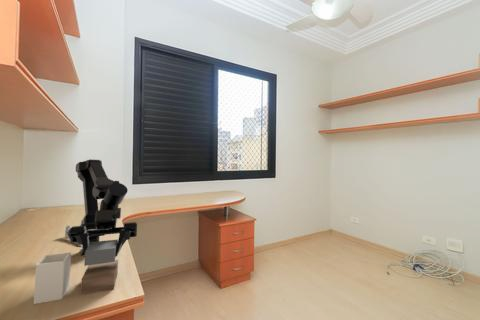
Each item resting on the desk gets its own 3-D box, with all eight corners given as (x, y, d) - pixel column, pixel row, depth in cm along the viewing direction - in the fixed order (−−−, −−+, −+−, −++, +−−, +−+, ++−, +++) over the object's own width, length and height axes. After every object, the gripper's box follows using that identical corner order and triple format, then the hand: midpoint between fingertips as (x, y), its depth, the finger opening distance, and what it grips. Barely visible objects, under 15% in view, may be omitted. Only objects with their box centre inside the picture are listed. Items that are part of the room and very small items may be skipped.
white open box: (44, 290, 61) (46, 255, 61) (69, 286, 63) (71, 252, 64) (33, 304, 55) (36, 264, 55) (61, 299, 58) (64, 261, 58)
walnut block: (88, 277, 69) (89, 263, 69) (117, 273, 72) (118, 259, 72) (80, 295, 59) (81, 278, 60) (114, 289, 63) (114, 273, 63)
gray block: (90, 254, 68) (91, 242, 68) (117, 251, 71) (117, 239, 71) (84, 265, 61) (85, 251, 61) (114, 261, 64) (115, 248, 64)
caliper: (64, 237, 105) (65, 224, 105) (67, 237, 106) (68, 224, 106) (81, 247, 93) (82, 233, 93) (84, 247, 94) (85, 232, 94)
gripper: (71, 200, 66) (56, 249, 56) (138, 198, 74) (136, 241, 64) (77, 220, 73) (64, 267, 63) (137, 216, 81) (135, 257, 71)
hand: (101, 257), depth 65 cm, fingers closed on gray block, 7 cm apart
